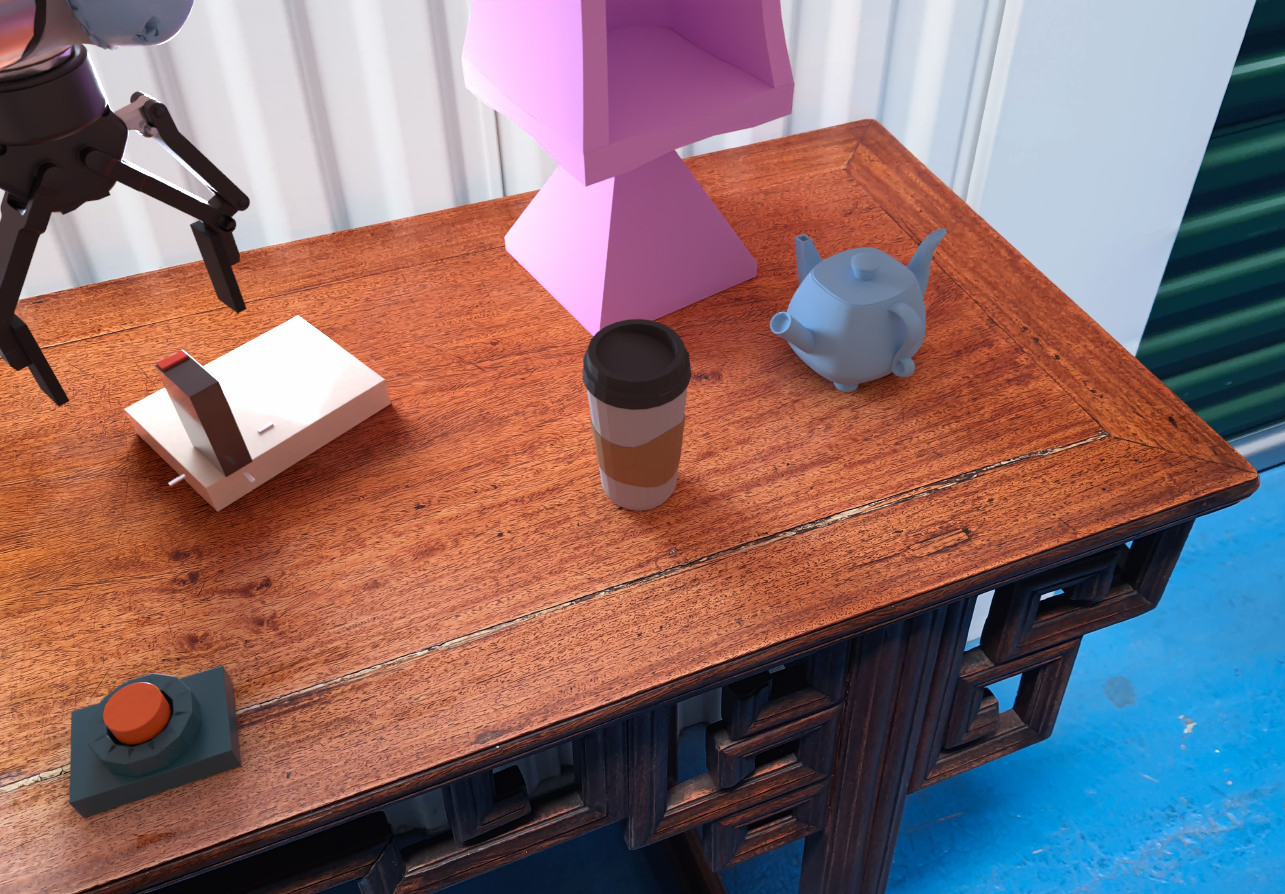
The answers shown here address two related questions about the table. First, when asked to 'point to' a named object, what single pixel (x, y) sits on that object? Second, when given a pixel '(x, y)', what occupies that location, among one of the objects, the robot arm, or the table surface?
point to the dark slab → (204, 412)
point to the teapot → (857, 311)
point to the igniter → (155, 744)
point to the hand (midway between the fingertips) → (148, 347)
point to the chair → (628, 139)
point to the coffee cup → (637, 409)
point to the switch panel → (268, 408)
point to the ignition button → (137, 713)
